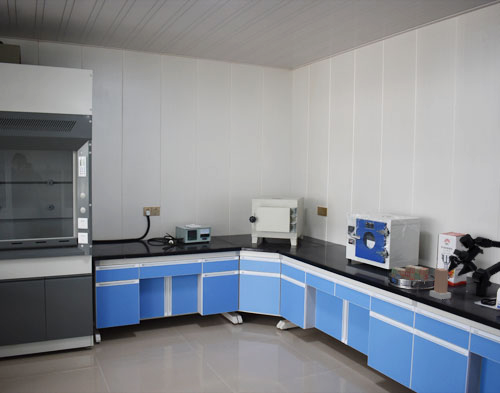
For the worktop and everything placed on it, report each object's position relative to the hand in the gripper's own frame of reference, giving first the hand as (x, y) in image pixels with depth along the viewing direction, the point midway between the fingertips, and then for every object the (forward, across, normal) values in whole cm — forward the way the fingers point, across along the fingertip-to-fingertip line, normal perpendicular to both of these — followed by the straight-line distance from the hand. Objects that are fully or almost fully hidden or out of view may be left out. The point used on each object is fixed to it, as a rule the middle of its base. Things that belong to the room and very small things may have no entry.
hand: (452, 273), depth 258 cm
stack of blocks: (+18, -26, +1) cm, 32 cm away
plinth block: (+15, 0, +4) cm, 15 cm away
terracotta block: (+13, 0, +2) cm, 13 cm away
